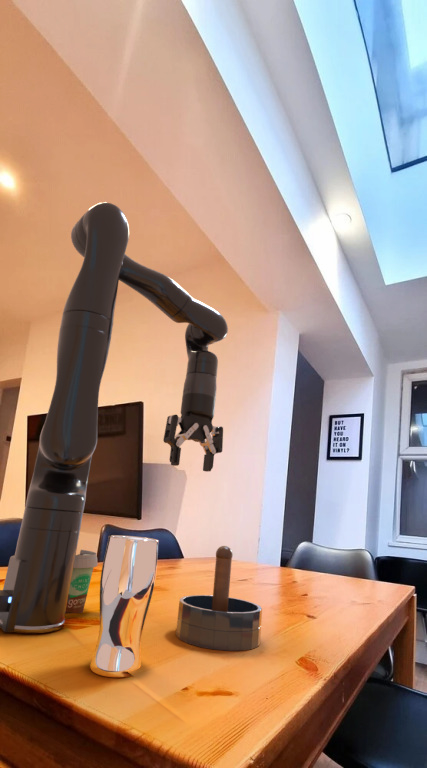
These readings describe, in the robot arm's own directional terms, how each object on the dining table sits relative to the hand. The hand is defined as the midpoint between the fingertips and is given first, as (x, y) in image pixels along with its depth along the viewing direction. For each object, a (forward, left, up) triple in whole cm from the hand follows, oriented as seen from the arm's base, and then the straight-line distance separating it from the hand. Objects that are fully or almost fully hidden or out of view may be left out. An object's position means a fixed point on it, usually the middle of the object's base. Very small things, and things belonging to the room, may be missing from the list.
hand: (191, 468), depth 91 cm
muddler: (-4, -18, -28) cm, 33 cm away
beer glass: (-24, -23, -28) cm, 44 cm away
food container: (-20, +5, -28) cm, 35 cm away
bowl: (-4, -18, -28) cm, 34 cm away
